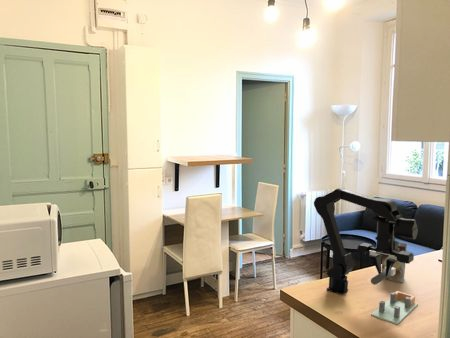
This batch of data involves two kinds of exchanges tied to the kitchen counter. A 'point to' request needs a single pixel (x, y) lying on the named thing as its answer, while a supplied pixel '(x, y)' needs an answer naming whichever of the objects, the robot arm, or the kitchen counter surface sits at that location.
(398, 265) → the coffee box
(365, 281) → the kitchen counter surface
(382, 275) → the rod
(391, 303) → the clip board
